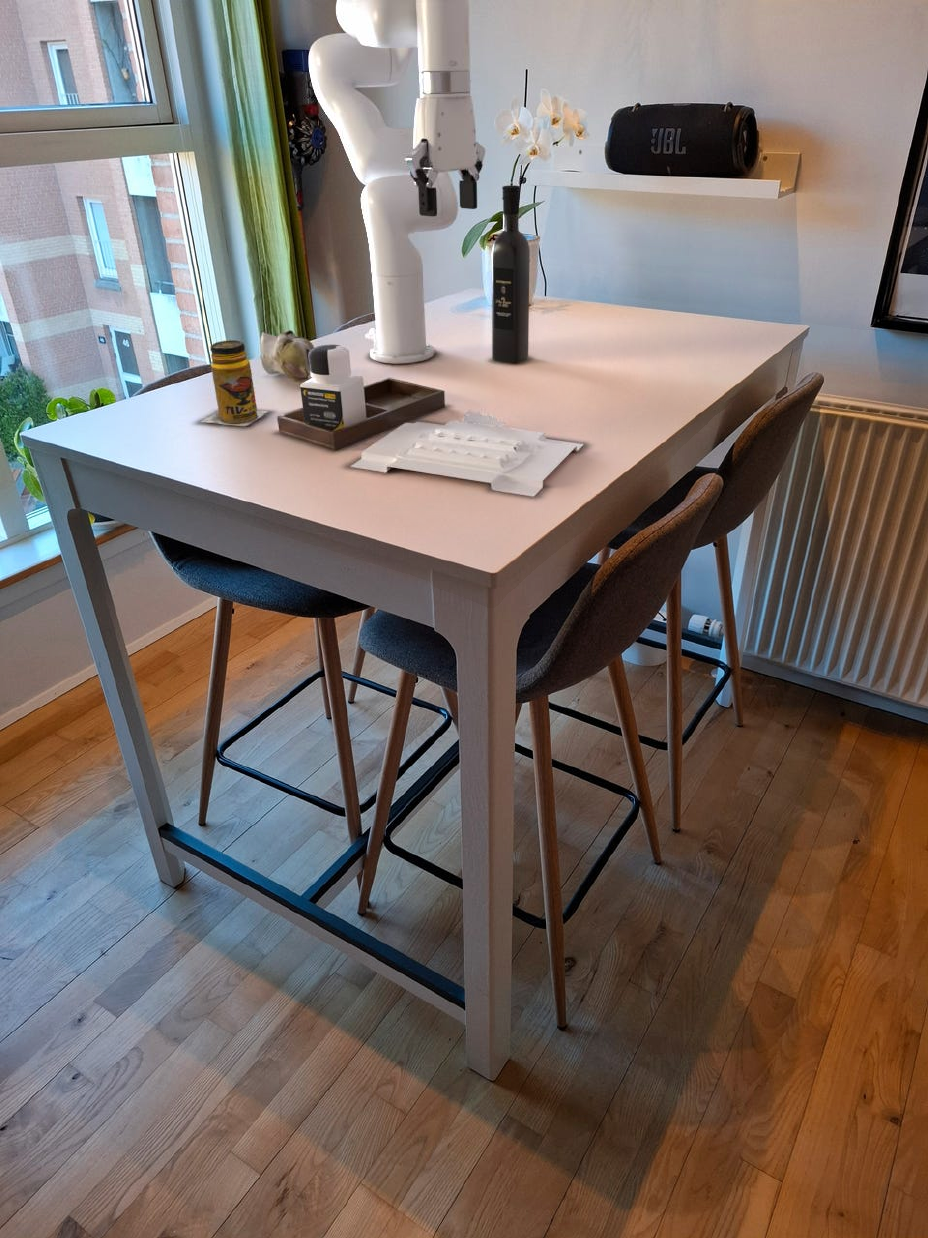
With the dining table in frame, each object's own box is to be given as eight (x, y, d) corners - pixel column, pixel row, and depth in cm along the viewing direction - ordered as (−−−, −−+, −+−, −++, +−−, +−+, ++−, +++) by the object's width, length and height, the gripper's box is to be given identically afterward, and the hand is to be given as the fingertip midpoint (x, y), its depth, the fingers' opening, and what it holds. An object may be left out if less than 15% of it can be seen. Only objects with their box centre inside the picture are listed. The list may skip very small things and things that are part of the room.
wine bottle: (516, 364, 166) (518, 188, 151) (490, 361, 169) (488, 187, 153) (530, 357, 170) (532, 184, 155) (504, 353, 173) (504, 183, 157)
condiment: (246, 427, 140) (234, 350, 134) (200, 422, 143) (186, 347, 136) (268, 412, 146) (258, 338, 140) (223, 408, 149) (211, 335, 142)
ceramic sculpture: (281, 317, 165) (343, 331, 159) (285, 362, 170) (345, 378, 164) (239, 330, 158) (302, 346, 151) (245, 377, 163) (306, 395, 156)
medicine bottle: (304, 429, 137) (294, 351, 130) (328, 415, 142) (320, 339, 136) (344, 435, 134) (336, 355, 128) (367, 420, 140) (360, 343, 133)
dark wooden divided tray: (279, 432, 138) (276, 416, 136) (390, 392, 154) (389, 377, 152) (335, 450, 131) (333, 432, 129) (445, 406, 147) (444, 390, 145)
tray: (534, 496, 115) (534, 469, 113) (350, 474, 126) (346, 449, 124) (584, 443, 130) (584, 419, 128) (416, 427, 141) (414, 404, 139)
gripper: (463, 84, 139) (465, 204, 148) (386, 87, 128) (393, 217, 137) (500, 83, 135) (501, 206, 144) (424, 87, 124) (430, 220, 133)
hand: (448, 211), depth 140 cm, fingers open, 9 cm apart
